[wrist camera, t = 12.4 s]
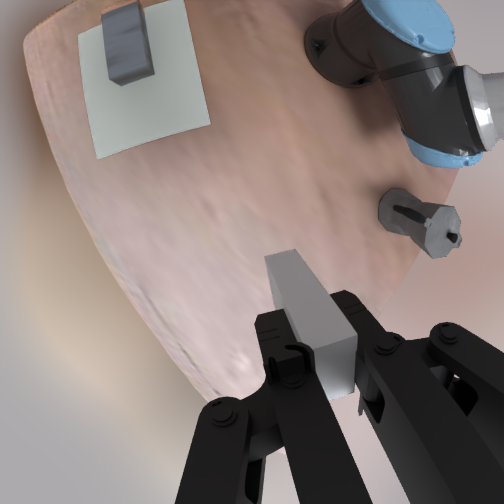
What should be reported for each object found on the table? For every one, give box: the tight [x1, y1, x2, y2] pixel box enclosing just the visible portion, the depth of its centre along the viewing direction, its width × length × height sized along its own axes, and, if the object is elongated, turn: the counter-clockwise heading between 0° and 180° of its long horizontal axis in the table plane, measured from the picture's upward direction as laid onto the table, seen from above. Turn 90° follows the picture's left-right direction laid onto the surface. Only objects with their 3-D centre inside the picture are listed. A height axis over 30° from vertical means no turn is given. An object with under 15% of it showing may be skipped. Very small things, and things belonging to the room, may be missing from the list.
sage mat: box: [78, 0, 211, 160], centre depth 35 cm, size 26×20×1 cm
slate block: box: [101, 0, 155, 86], centre depth 30 cm, size 6×6×14 cm
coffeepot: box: [378, 189, 462, 259], centre depth 42 cm, size 15×9×18 cm, turn 70°
